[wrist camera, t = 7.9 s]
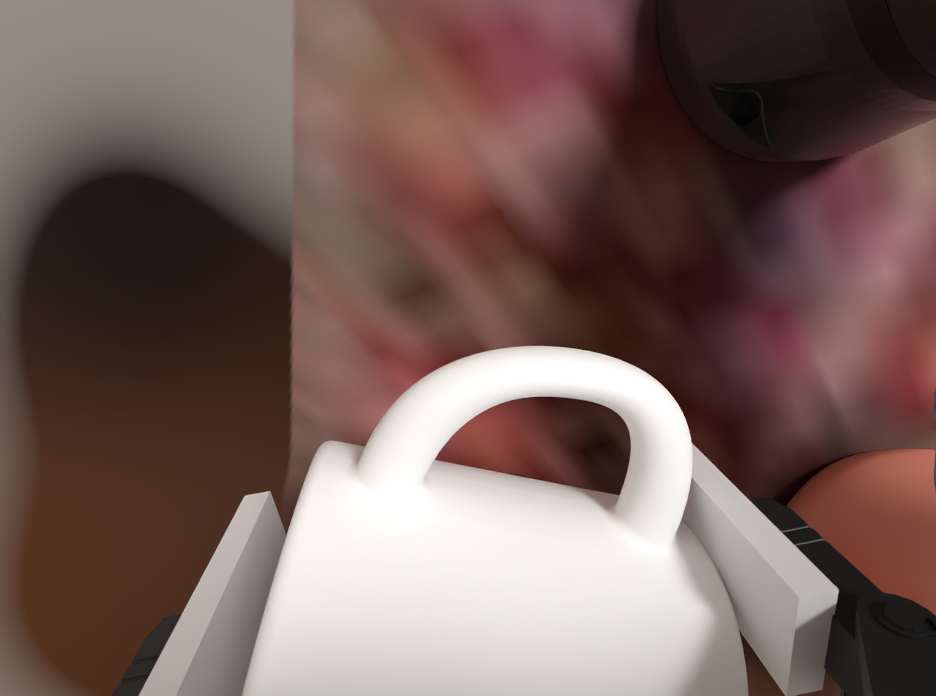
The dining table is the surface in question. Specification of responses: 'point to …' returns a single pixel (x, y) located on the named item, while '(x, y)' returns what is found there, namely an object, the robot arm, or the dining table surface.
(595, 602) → the mug
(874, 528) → the teapot
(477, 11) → the dining table surface
